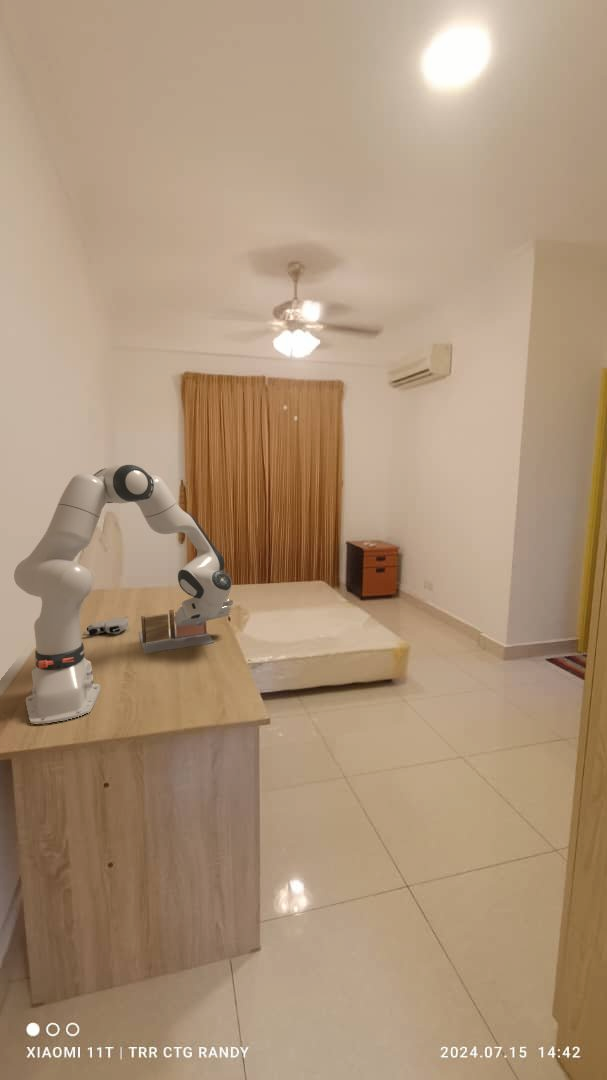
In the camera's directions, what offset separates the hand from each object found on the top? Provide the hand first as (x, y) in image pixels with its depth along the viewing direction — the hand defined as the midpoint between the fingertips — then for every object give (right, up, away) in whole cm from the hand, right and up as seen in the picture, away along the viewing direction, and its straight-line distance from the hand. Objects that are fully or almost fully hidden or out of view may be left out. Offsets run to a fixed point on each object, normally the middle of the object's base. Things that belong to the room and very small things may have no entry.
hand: (197, 624), depth 175 cm
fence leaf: (-3, -5, +2) cm, 6 cm away
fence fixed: (-14, -6, -2) cm, 15 cm away
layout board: (-9, -5, +1) cm, 10 cm away
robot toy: (-36, -5, +8) cm, 37 cm away
